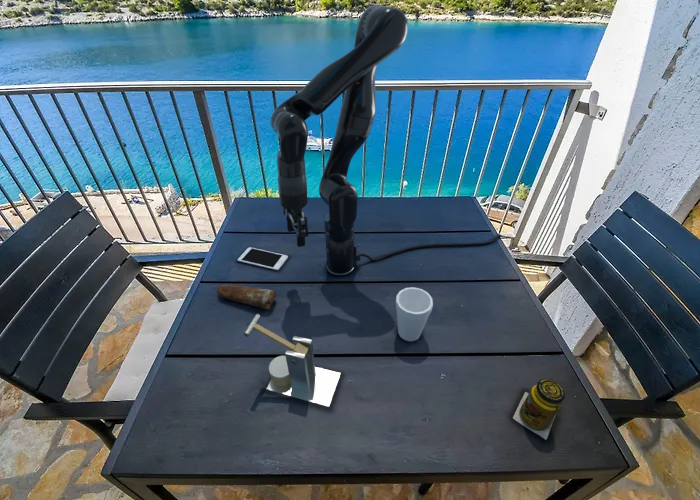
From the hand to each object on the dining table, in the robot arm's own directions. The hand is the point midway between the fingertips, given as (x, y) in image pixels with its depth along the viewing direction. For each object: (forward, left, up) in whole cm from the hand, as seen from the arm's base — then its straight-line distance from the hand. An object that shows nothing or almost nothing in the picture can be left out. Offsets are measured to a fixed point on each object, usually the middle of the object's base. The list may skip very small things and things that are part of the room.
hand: (296, 238), depth 102 cm
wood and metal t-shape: (+17, +29, -4) cm, 34 cm away
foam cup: (-19, +33, -18) cm, 42 cm away
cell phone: (+7, -18, -18) cm, 27 cm away
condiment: (-30, +66, -18) cm, 75 cm away
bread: (+18, -1, -18) cm, 26 cm away
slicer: (+13, +33, -18) cm, 40 cm away
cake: (+17, +29, -17) cm, 38 cm away
